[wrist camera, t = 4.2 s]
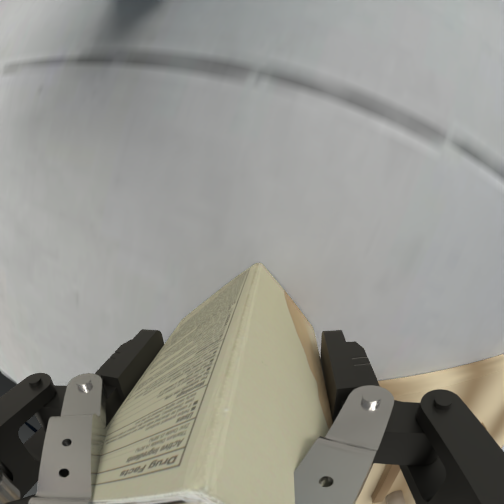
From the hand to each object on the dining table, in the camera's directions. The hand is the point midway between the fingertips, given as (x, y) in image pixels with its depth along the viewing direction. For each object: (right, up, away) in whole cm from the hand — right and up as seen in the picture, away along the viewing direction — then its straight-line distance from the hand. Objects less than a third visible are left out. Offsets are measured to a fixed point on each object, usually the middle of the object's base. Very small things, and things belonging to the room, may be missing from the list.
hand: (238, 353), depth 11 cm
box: (0, +1, +3) cm, 3 cm away
